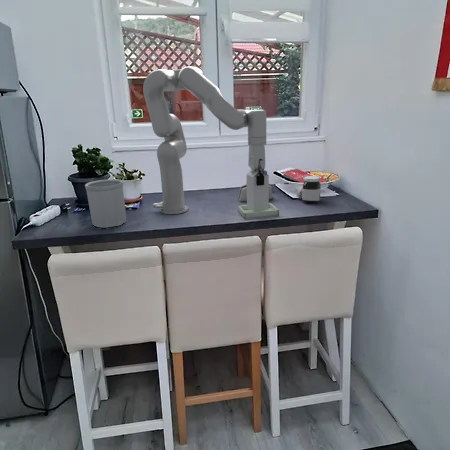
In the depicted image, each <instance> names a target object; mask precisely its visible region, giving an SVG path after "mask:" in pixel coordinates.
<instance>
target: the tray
mask: <svg viewBox="0 0 450 450" xmlns="http://www.w3.org/2000/svg"><path fill="white" fill-rule="evenodd" d="M237 212H238V214H240V215H241V217H242V218H243V219H244V220H250V219H251V220H252V219H259V218H272V217H279V216H280V210H279V209H278V208H277V207H276V206H275V205H273V204H272V202H269V209H268V210H261V211H255V212H253V211H252V210H250V209H249V208H247V204H244V205H237Z"/></svg>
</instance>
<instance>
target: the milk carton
mask: <svg viewBox="0 0 450 450" xmlns="http://www.w3.org/2000/svg"><path fill="white" fill-rule="evenodd" d="M256 176H257V171H256V169H255V170H253V169H251V168H250V169H249V171H248V172H247V173H246V176H245V177H246V178H245V179H246V184H247V201H246V205H247V208H249V209H250V210H252V211H253V212H255V211H261V210H268V209H269V203H270V202H269V201H270V199H269V184H270V183H269V182H270V180H269V179H270V177H269V174H268V172H267V173H265V172H264V185H260V186H257V185H256Z"/></svg>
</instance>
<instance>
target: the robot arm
mask: <svg viewBox="0 0 450 450" xmlns="http://www.w3.org/2000/svg"><path fill="white" fill-rule="evenodd" d="M185 90H186V91H188V92H189V93H190V94H191V95H193V96H194V97H195V98H196V99H197V100H198V101H200V102H201V104H203V105H204V106H205V107H206V108H207V110H209V111H210V112H211V114H212V115H213V116H214V117H215V118H216V119H218V120H219V121H220V122H221V123H222V124H224V125H225V126H226V127H227V128H228V129H231V130H232V131H233V130H234V131H237V130H241V129H243V128H247V146H248V161H247V162H248V167H249V168H250V170H251V169H253V170H255V169H256V171H257V176H256V185H257V186H260V185H264V170H265V169H266V149H265V146H266V145H267V112H266V110H265V109H261V108H260V109H259V108H257V109H251V110H250V109H243V108H242V109H241V108H239V109H238V108H235V107H234V106H233V105H232V104H231V103H230V102H228V101H227V100H226V99H225V98H224V96H223V95H222V93H221V90H220V88H219V87H218V86H217V85H215V84H214V83H213V82H212V81H210V79H208V78H207V77H206V76H205V74H204V72H203V70H202V69H200V68H199V67H196V66H189V65H188V66H184V67H183V68H181V69H180V68H179V69H163V68H162V69H161V68H160V69H155V70H153V71H151V72H150V73H149V74H148V75H147V76H146V77H145V79H144V81H143V85H142V91H143V98H144V101H145V104H146V108H147V111H148V114H149V119H150V123H151V127H152V130H153V133H154V134H155V135H156V136H157V137H158V138H161V139H162V138H163V139H164V141H162V142H161V143H160V144H159V145H158V147H157V149H156V157H157V161H158V166H159V171H160V180H161V181H160V182H161V193H162V201H160V202H157V203H155V202H154V203H153V205H152V206H153V208H154V209H155V208H156V209H159V210H160V213H161V214H165V215H179V214H183V213H186V212H188V211H189V206H188V205H185V194H184V181H183V180H184V179H183V178H184V177H183V169H182V164H181V160H180V159H182V158H183V157H184V156H185V155H186V153H187V149H188V148H187V142H186V137H185V135H184V130H183V127H182V124H181V120H180V118H178V117H177V116H176V115H175V114H173V113H170V109H169V106H168V102H167V99H166V98H165V95H164V93H165V92H175V91H176V92H177V91H185Z"/></svg>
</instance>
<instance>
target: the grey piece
mask: <svg viewBox="0 0 450 450" xmlns="http://www.w3.org/2000/svg"><path fill="white" fill-rule="evenodd" d="M237 199H238V201H239V202H247V183H245V184H242V185H240V188H239V193H238V196H237ZM272 199H273V187H272V185H271V184H270V183H269V200H272Z"/></svg>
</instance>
